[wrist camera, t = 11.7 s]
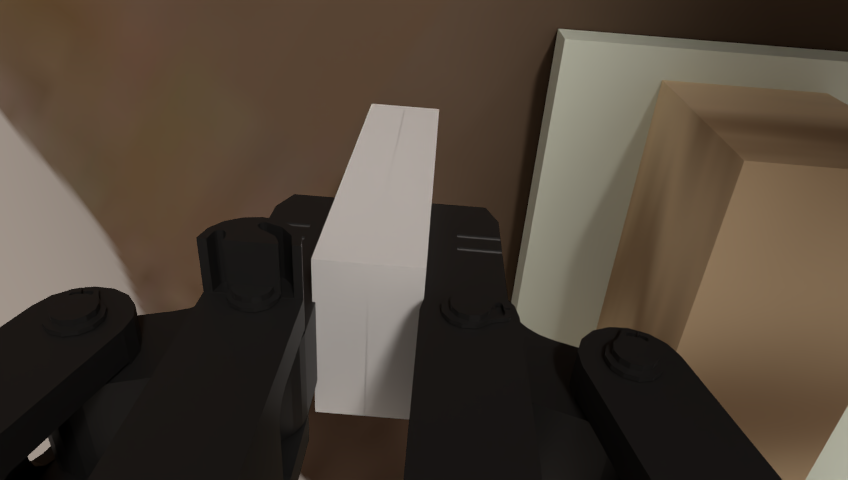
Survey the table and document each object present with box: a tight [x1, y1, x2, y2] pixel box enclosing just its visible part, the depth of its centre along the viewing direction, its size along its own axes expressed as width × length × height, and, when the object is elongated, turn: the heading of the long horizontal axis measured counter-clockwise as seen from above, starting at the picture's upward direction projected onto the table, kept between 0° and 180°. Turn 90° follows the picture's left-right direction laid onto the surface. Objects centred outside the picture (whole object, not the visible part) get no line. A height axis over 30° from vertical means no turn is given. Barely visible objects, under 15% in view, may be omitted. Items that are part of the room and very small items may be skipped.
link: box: [596, 80, 848, 480], centre depth 17 cm, size 18×7×5 cm, turn 176°
